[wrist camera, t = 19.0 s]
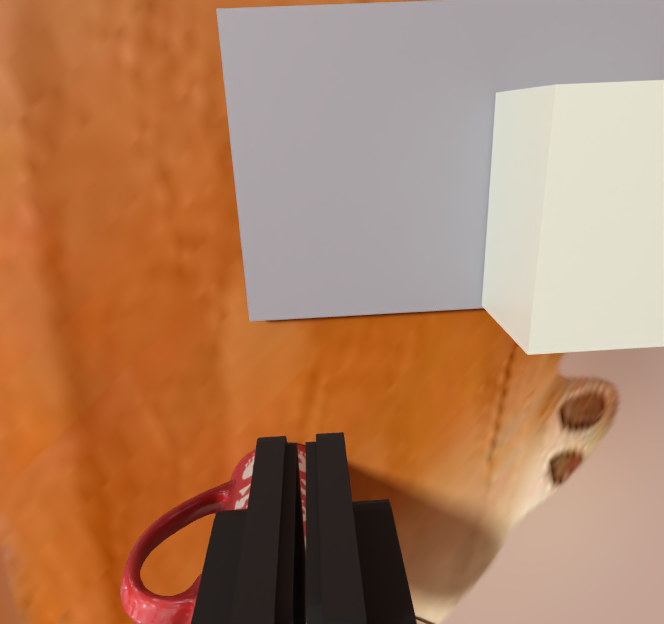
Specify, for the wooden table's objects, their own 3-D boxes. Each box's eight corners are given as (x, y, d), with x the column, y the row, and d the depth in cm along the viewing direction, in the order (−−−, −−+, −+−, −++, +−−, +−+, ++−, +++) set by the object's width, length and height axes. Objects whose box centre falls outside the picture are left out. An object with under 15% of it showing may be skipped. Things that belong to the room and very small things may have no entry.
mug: (371, 454, 35) (409, 642, 23) (317, 549, 38) (324, 763, 25) (195, 391, 33) (127, 561, 20) (151, 497, 36) (67, 705, 23)
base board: (622, 293, 32) (655, 311, 29) (251, 314, 31) (245, 334, 28) (672, -4, 26) (720, -20, 23) (220, 13, 25) (208, -1, 22)
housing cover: (614, 298, 31) (694, 344, 24) (481, 305, 30) (527, 354, 24) (649, 85, 26) (756, 75, 20) (495, 92, 26) (555, 84, 20)
